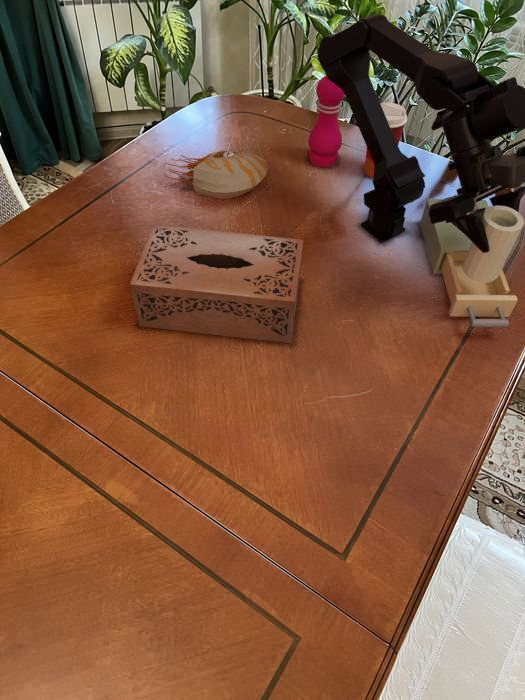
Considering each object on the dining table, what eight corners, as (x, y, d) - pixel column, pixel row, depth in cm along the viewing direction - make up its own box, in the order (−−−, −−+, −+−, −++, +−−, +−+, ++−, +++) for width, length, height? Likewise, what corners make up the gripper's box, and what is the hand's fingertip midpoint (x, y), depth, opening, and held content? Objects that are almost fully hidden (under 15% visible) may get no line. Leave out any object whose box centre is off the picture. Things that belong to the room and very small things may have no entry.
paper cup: (397, 165, 127) (411, 105, 115) (390, 185, 122) (404, 124, 111) (363, 158, 128) (373, 97, 117) (355, 177, 123) (365, 116, 112)
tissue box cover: (299, 281, 104) (303, 239, 96) (291, 343, 95) (295, 302, 87) (160, 267, 105) (152, 224, 98) (139, 326, 97) (129, 284, 89)
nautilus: (155, 199, 118) (183, 162, 128) (254, 215, 114) (275, 175, 123) (148, 164, 112) (178, 128, 122) (252, 180, 108) (275, 141, 117)
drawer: (515, 336, 96) (525, 319, 92) (455, 335, 96) (462, 318, 92) (489, 262, 107) (497, 245, 103) (435, 262, 106) (441, 245, 103)
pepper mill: (337, 170, 125) (349, 80, 109) (304, 166, 126) (312, 76, 110) (341, 152, 129) (353, 62, 113) (309, 148, 130) (317, 58, 114)
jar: (464, 280, 94) (486, 229, 86) (460, 255, 98) (481, 203, 89) (501, 284, 94) (527, 232, 85) (495, 259, 98) (520, 207, 89)
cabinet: (494, 274, 106) (505, 250, 101) (433, 273, 106) (441, 249, 101) (476, 223, 115) (485, 199, 110) (419, 223, 115) (427, 198, 110)
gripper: (466, 152, 76) (500, 262, 80) (556, 113, 83) (584, 215, 86) (412, 172, 86) (444, 269, 90) (496, 136, 93) (523, 227, 96)
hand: (500, 244), depth 90 cm, fingers closed on jar, 6 cm apart
